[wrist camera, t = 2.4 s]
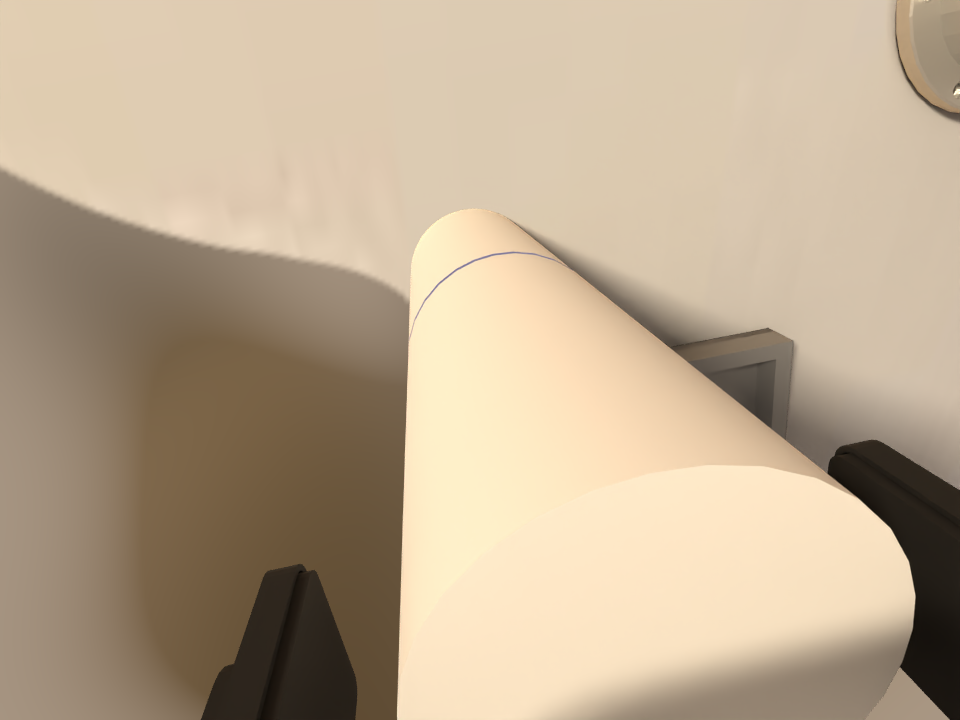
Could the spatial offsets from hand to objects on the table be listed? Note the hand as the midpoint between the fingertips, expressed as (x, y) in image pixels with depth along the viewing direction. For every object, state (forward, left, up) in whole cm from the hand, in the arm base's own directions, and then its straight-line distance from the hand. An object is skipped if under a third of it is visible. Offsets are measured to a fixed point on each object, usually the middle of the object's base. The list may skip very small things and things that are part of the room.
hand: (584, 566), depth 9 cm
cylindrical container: (0, 0, -23) cm, 23 cm away
